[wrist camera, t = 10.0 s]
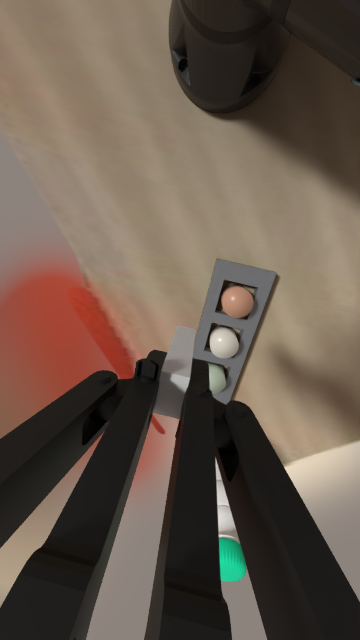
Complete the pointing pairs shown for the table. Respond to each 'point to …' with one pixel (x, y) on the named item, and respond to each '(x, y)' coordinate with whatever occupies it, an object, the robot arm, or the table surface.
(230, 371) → the panel
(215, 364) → the button sage
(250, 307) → the button terracotta
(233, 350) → the button ivory
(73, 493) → the robot arm
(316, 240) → the table surface
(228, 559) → the water bottle
